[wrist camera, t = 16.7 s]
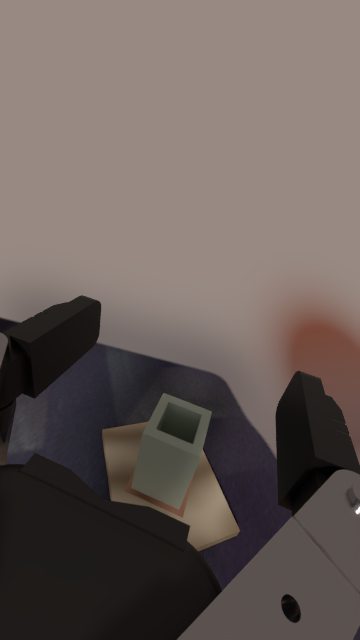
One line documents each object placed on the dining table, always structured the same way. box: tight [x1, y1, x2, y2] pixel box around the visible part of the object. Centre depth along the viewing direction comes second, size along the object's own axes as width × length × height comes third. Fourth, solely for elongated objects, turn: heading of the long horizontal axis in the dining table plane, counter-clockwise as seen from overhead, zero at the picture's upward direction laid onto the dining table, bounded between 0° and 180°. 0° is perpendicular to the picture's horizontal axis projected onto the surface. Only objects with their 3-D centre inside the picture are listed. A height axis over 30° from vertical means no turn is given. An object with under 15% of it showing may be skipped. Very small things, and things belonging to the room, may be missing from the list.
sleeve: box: [131, 393, 212, 510], centre depth 30 cm, size 6×6×10 cm
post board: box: [102, 422, 240, 551], centre depth 32 cm, size 16×13×6 cm
